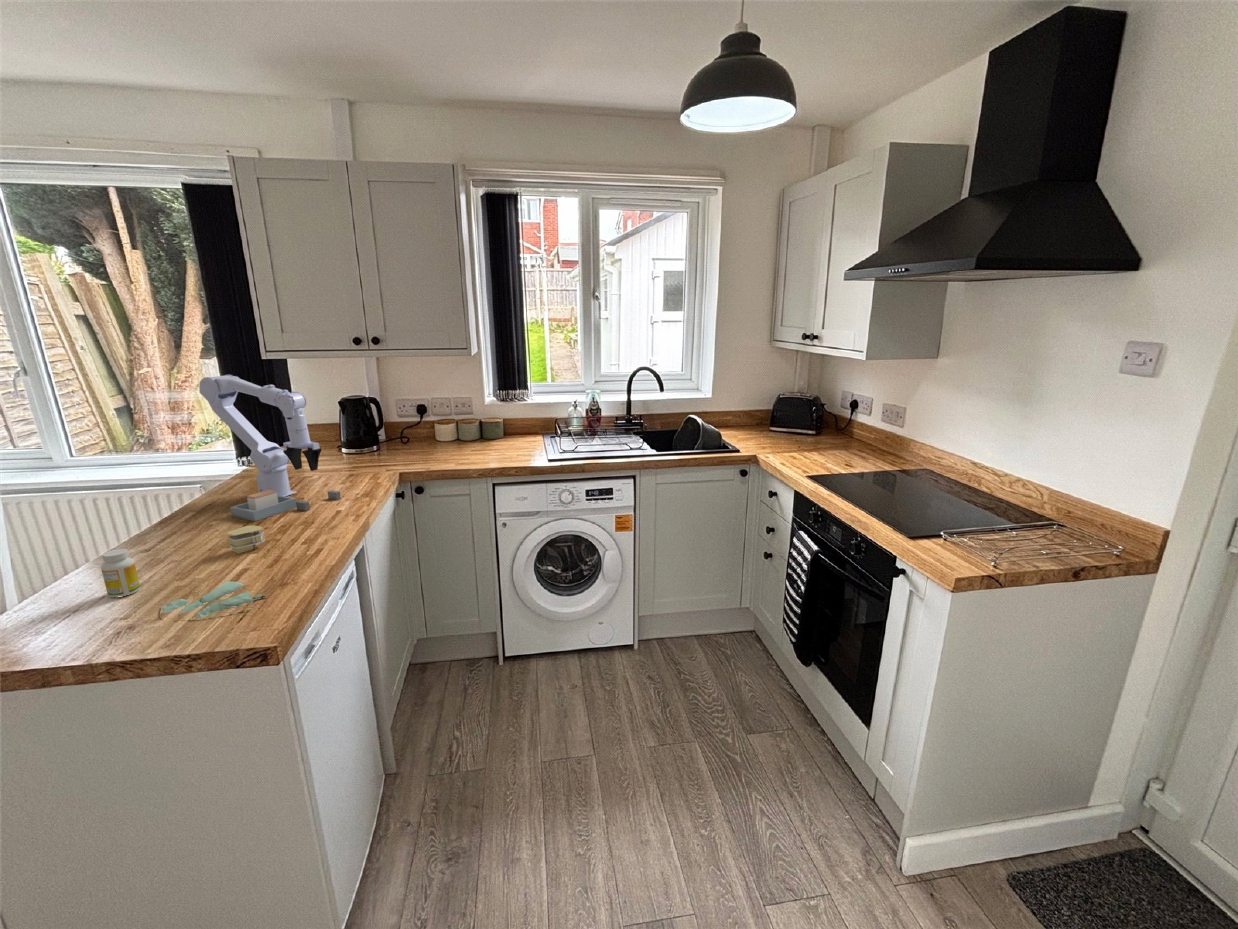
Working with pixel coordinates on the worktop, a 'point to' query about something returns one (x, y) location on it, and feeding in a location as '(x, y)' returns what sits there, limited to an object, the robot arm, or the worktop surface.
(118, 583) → the supplement bottle
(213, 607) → the pale green flat pieces
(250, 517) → the tray
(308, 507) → the grey blocks
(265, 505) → the pink and gray block
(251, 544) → the beige layered stack
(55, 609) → the worktop surface
